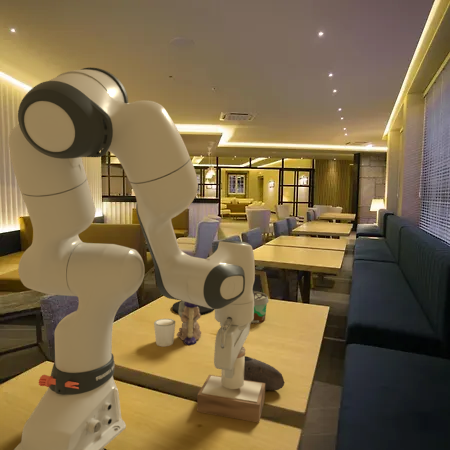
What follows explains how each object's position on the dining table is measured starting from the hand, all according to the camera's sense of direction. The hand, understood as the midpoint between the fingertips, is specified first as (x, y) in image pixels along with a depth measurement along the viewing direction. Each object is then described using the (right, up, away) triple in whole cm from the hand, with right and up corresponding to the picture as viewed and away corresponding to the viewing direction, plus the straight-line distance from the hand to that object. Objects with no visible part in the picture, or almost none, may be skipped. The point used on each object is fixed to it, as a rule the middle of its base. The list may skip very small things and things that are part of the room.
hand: (233, 369), depth 80 cm
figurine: (-14, -5, +38) cm, 41 cm away
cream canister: (0, -3, 0) cm, 3 cm away
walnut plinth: (0, -9, +1) cm, 9 cm away
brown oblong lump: (+6, -8, +9) cm, 14 cm away
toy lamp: (-13, -6, +34) cm, 37 cm away
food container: (+12, -4, +55) cm, 57 cm away
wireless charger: (-15, -3, +67) cm, 69 cm away
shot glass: (-22, -6, +34) cm, 41 cm away
